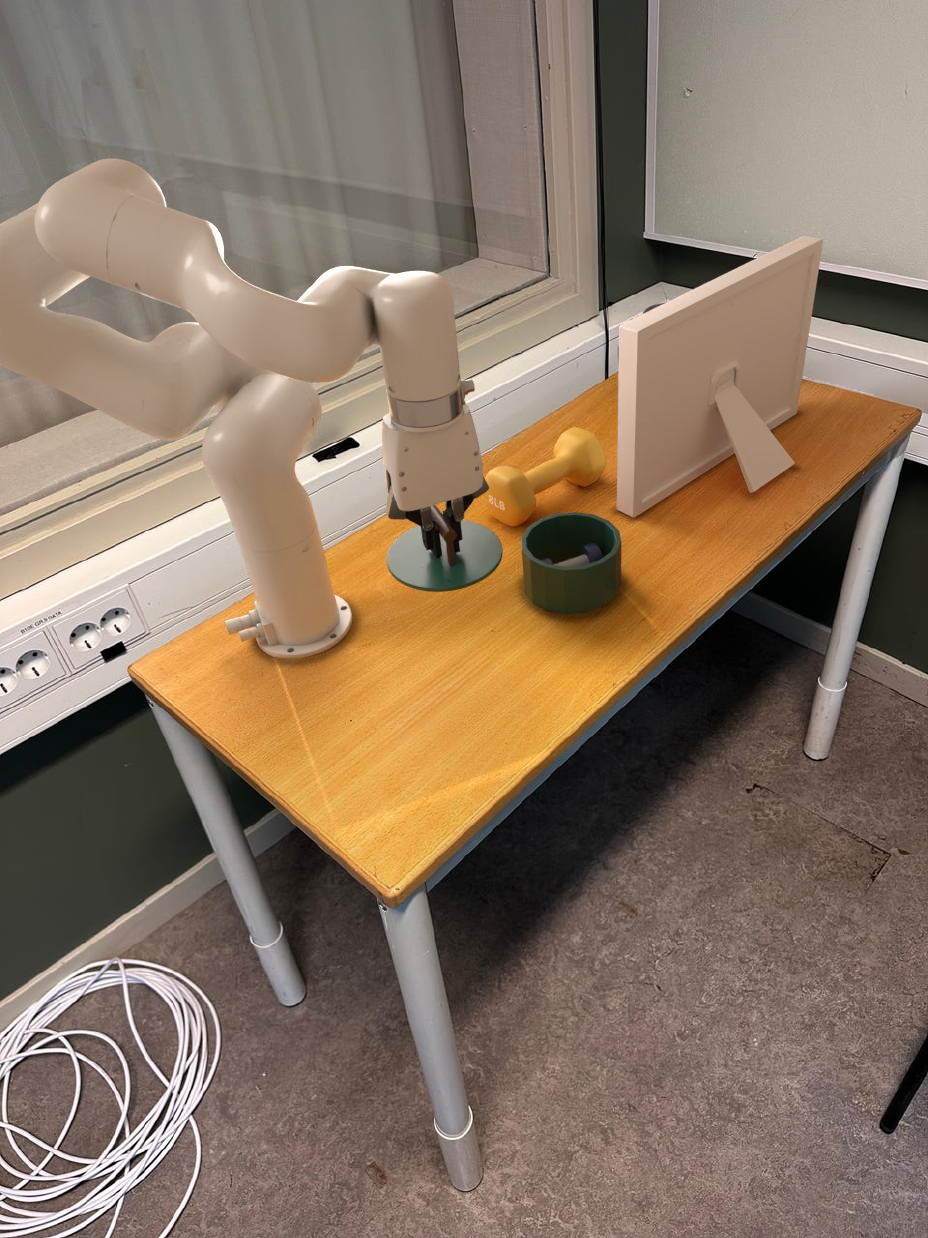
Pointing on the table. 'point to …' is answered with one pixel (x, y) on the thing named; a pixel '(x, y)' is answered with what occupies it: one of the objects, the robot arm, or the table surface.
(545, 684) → the table surface
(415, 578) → the lid
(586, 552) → the toy dumbbell
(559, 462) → the dumbbell
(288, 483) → the robot arm
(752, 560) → the table surface
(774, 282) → the picture frame
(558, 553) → the pot
